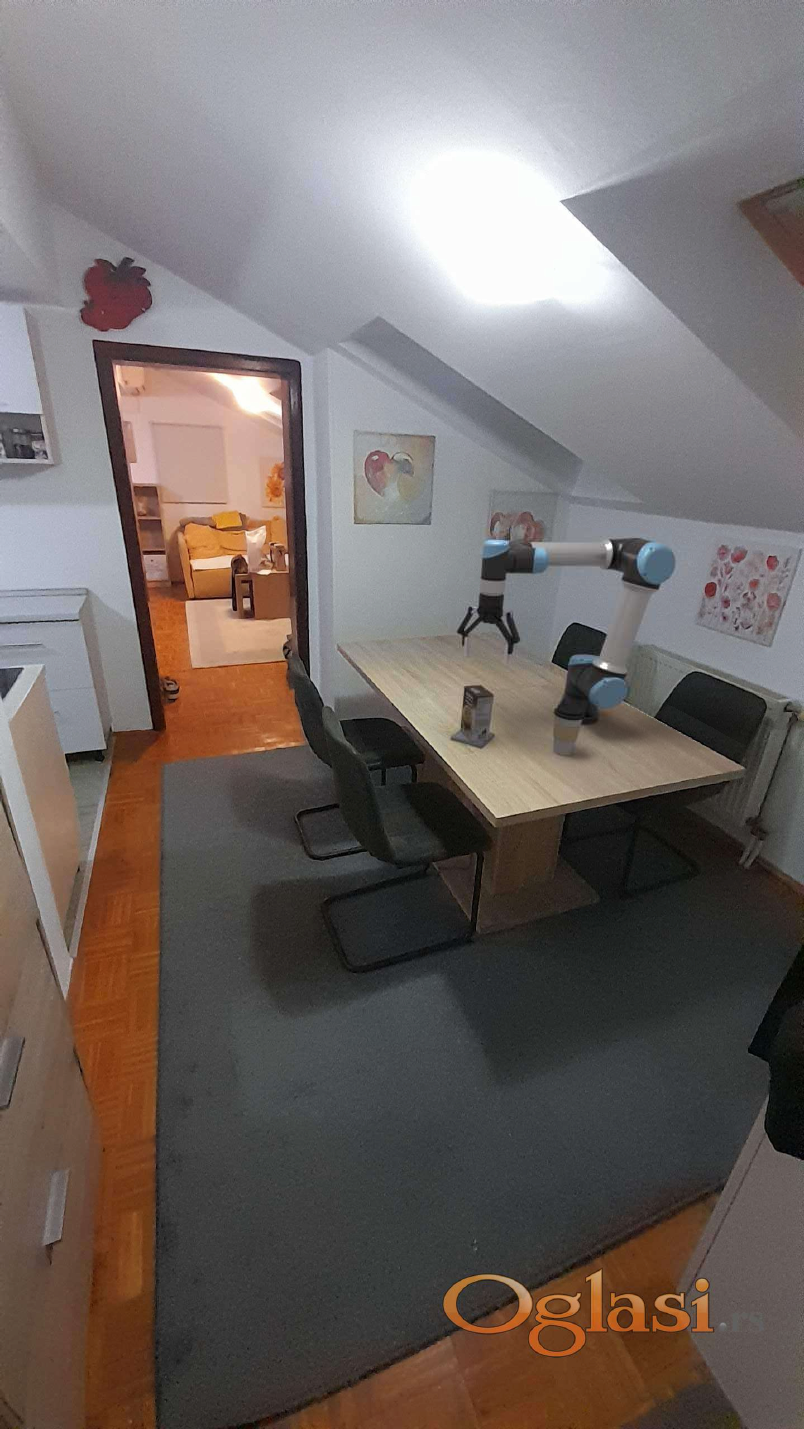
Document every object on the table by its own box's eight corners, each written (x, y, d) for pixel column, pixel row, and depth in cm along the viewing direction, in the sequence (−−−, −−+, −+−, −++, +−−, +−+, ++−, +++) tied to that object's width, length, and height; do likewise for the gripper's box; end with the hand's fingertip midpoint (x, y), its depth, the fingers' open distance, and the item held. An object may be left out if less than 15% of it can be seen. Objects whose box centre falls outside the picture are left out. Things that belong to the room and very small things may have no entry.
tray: (494, 736, 196) (494, 733, 196) (481, 748, 187) (481, 745, 187) (464, 728, 201) (465, 725, 201) (450, 739, 192) (450, 736, 192)
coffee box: (459, 730, 197) (463, 685, 190) (476, 728, 199) (481, 684, 192) (471, 742, 189) (476, 695, 182) (489, 740, 191) (494, 693, 185)
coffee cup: (555, 742, 194) (562, 700, 188) (582, 751, 189) (590, 708, 183) (542, 751, 187) (549, 708, 181) (570, 761, 182) (578, 717, 176)
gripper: (535, 596, 176) (527, 663, 184) (459, 586, 186) (455, 650, 195) (527, 600, 169) (519, 670, 178) (449, 590, 180) (445, 655, 189)
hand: (485, 659), depth 186 cm, fingers open, 13 cm apart
